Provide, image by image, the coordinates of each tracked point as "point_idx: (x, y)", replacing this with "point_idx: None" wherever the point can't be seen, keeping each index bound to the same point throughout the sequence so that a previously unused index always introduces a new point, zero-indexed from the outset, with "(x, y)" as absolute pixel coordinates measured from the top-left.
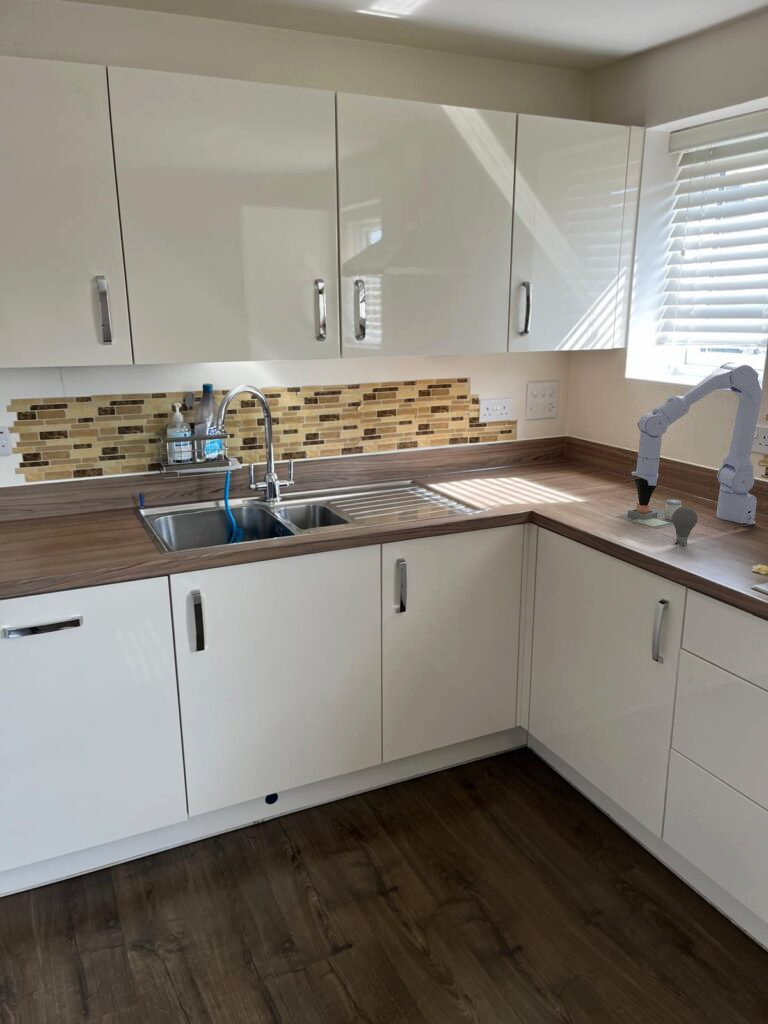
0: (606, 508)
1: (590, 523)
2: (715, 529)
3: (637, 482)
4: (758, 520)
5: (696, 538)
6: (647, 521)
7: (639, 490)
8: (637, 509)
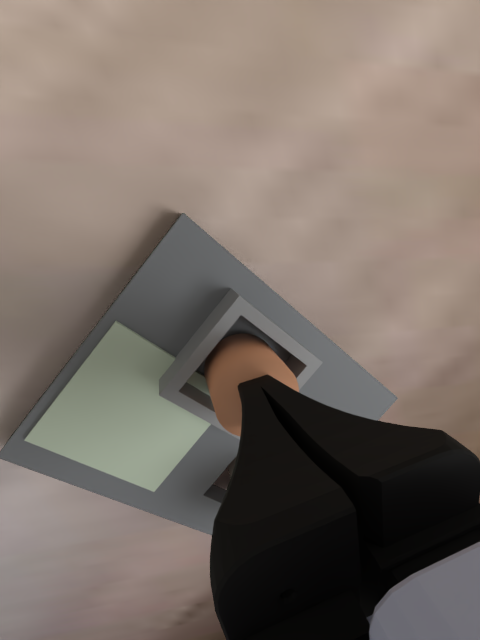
0: (425, 166)
1: (19, 14)
2: (205, 592)
3: (242, 536)
4: None
5: (22, 580)
6: (128, 400)
7: (242, 457)
8: (227, 356)
